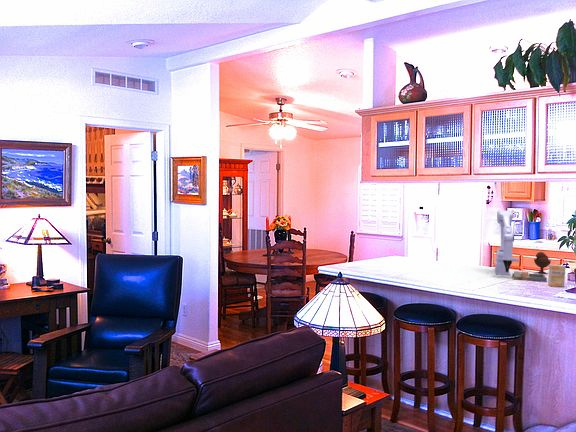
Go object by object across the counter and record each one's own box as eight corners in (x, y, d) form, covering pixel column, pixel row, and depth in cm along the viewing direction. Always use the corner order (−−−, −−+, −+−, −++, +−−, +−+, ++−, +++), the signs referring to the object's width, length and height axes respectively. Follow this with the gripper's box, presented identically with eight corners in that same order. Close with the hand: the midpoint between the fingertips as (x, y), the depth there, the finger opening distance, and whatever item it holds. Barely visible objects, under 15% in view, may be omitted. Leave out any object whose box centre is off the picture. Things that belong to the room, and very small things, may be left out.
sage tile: (514, 275, 373) (514, 271, 373) (513, 274, 377) (514, 270, 376) (520, 275, 372) (521, 272, 371) (520, 274, 375) (520, 271, 375)
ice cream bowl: (548, 275, 389) (549, 253, 388) (531, 273, 396) (532, 252, 395) (551, 273, 397) (553, 252, 396) (535, 271, 404) (536, 250, 403)
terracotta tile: (521, 275, 371) (521, 272, 371) (521, 274, 375) (521, 271, 375) (528, 276, 370) (528, 272, 370) (527, 275, 374) (527, 271, 374)
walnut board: (514, 279, 368) (514, 276, 368) (512, 276, 382) (512, 273, 381) (530, 280, 365) (530, 277, 365) (528, 277, 379) (528, 274, 379)
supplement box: (550, 286, 346) (551, 265, 345) (547, 285, 351) (549, 264, 350) (564, 287, 345) (565, 265, 344) (561, 285, 350) (563, 264, 349)
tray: (531, 280, 365) (531, 277, 365) (528, 277, 379) (528, 273, 379) (546, 281, 362) (546, 278, 362) (543, 278, 376) (543, 274, 376)
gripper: (496, 251, 373) (495, 272, 374) (520, 252, 369) (519, 273, 370) (496, 250, 380) (495, 270, 381) (519, 251, 376) (518, 271, 377)
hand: (506, 271), depth 376 cm, fingers closed
